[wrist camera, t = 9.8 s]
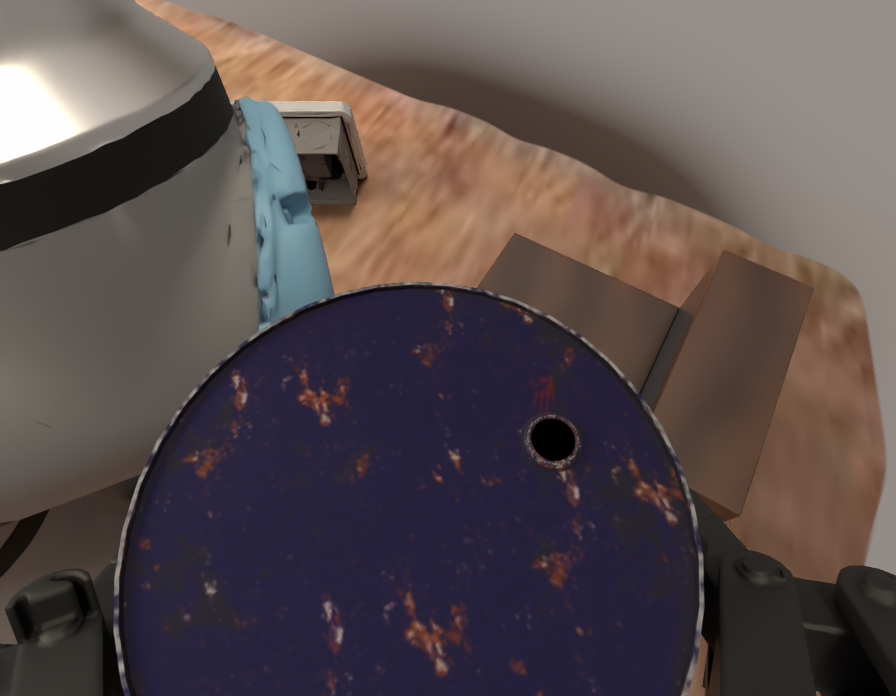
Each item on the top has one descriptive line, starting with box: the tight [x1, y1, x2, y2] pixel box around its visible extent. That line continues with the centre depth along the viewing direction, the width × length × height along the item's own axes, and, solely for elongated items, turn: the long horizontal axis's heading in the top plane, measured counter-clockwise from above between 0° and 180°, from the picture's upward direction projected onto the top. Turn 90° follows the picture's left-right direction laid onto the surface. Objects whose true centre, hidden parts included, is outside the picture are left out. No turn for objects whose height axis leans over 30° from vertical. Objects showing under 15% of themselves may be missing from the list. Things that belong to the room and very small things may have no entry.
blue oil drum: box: [114, 282, 704, 696], centre depth 15 cm, size 10×10×15 cm
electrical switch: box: [230, 101, 367, 204], centre depth 40 cm, size 9×5×9 cm, turn 91°
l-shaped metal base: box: [477, 233, 814, 522], centre depth 32 cm, size 18×14×10 cm
